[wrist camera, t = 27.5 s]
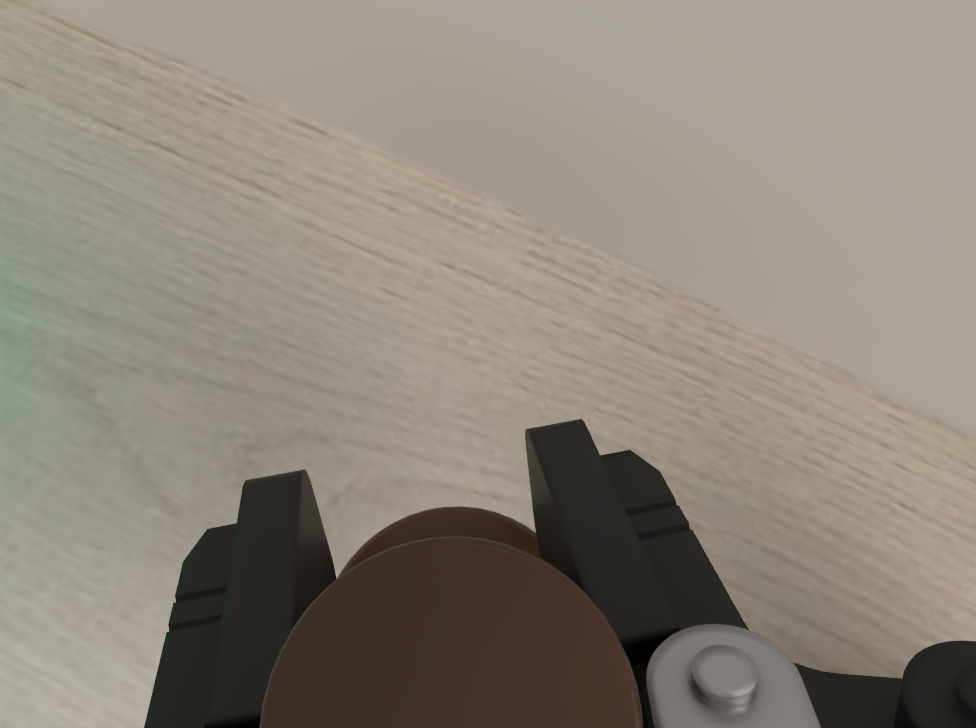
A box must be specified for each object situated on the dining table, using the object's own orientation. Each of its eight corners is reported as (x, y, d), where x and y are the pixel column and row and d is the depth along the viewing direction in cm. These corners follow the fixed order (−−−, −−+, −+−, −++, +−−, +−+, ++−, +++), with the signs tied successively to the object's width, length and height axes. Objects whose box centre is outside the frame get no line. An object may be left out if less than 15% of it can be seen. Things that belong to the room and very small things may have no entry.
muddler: (626, 640, 15) (879, 741, 6) (450, 825, 14) (437, 1268, 5) (461, 466, 16) (465, 319, 7) (285, 633, 15) (13, 725, 6)
